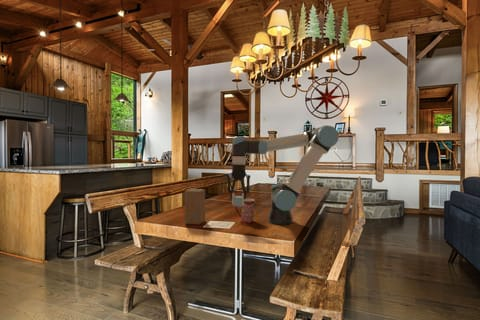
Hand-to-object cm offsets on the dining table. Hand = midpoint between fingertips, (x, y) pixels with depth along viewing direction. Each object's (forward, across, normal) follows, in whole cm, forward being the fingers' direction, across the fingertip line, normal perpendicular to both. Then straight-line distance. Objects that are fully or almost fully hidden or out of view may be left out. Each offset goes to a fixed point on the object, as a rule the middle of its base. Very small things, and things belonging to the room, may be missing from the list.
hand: (238, 204), depth 158 cm
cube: (0, 0, 0) cm, 0 cm away
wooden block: (+14, +28, -6) cm, 32 cm away
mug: (+13, -2, -15) cm, 20 cm away
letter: (+13, +12, -4) cm, 18 cm away
